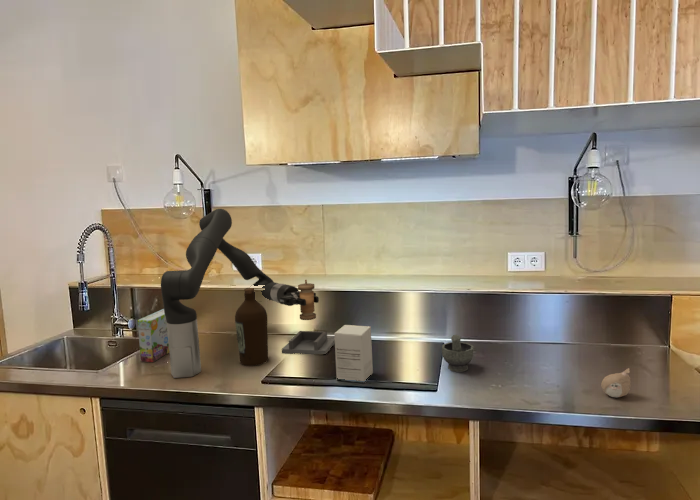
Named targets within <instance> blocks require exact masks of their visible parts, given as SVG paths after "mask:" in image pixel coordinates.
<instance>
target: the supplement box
mask: <svg viewBox="0 0 700 500" xmlns="http://www.w3.org/2000/svg"><path fill="white" fill-rule="evenodd" d="M371 327H372V326H369V325H367V326H366V325H353V324H352V325H351V324H344V325H342V327H341V328H339V329H338V330H337V331H335V332H334V337H333V338H335V344H334V350H335V351H334V354H335V372H336V373H335V374H336V379H337V378H338V379H345V380H356V381H365V380H366V379H367V378H368V377H369V376H370V375H371V376H372V375H373V374H374V370H373V369H374V368H373V349H372V345H373V344H372V328H371ZM371 376H370V377H371ZM370 377H369V378H370ZM369 378H368V379H369ZM368 379H367V380H368Z"/></svg>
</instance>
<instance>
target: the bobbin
mask: <svg viewBox="0 0 700 500" xmlns="http://www.w3.org/2000/svg"><path fill="white" fill-rule="evenodd" d="M304 282H305V283H300V284H297V289H298V290H299V291H300V298H301V299H305V300H306V305H305V306H302V305H299V307H300V308H299V309H300V314H299V320H302V321H312V320H314V319H317V313H315V309H316V308H315V302H314V293H315V292H314V289H315V284H314V283H309V282H308V280H307V279H305V280H304Z"/></svg>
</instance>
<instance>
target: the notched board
mask: <svg viewBox="0 0 700 500" xmlns="http://www.w3.org/2000/svg"><path fill="white" fill-rule="evenodd" d="M332 346H333V347H334V346H335V337H328V331H318V330H317V331H316V330H315V331H314V330H299V331H298V332H297V333H296V334H295V335H294V336H292V338H291V339H289V340H288V343H287V344H286V345H284V346H283V347H282V348H281V354H287V355H288V354H290V355H291V354H293V353H294V354H293V355H296V354H295V353H300V354H299V355H313V354H326V353H327V352H328V351H329V352H330V350H331V349H332V348H331V347H332ZM330 348H331V349H330ZM301 353H302V354H301ZM327 354H328V353H327ZM327 354H326V355H327Z"/></svg>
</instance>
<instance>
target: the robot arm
mask: <svg viewBox="0 0 700 500" xmlns="http://www.w3.org/2000/svg"><path fill="white" fill-rule="evenodd" d="M198 224H199V228H200V232H199V233H197V234H196V235H195V236H194V238H192V240H191V241H190V243H189V244H188V246H187V248H186V251H185V256H186V257H185V258H186V260H187V263H188V264H189V266H190V268H189V269H185V270H182V269H181V270H180V269H179V270H167V271H165V272H163V274H162V276H161V278H160V291H161V297H162V304H163V309H164V313H165V316H166V322H167V333H168V344H169V353H168V354H169V365H170V373H171V376H172V377H173V379H176V378H178V379H179V378H190V377H191V378H192V377H194V376H195V375H197V374H199V373H200V372H201V371H202V363H201V362H202V361H201V351H200V350H201V349H200V340H199V339H200V338H199V330H198V329H199V328H198V316H197V315H198V314H197V311H196V310H195V309H194V308H192V307H189V306H187V305H185V304H183V303H181V301H182V300H183V301H187V300H192V299H195V298H196V297H197V295H198V293H199V291H200V290H201V286H202V283H203V280H204V278H205V275H206V272H207V271H208V268H209V267H210V265H211V262H212V261H213V259H214V258H215V255H216V253H217V252H218V251H217V250H219V251H220V253H222V254H223V255H224V256H225V257H226V258H227V259H228V260H229V262H231V264H232V265H233V266H234V268H235V269H236V270H237V272H238V273H239V274H240V275H241V277H242V278H243V279H244V280H245V281H249V280H251V279H254V278H255V277H256V278H257V280H256V281H255V282H254V283H253V284H252V285H254V286H258V285H265V286H263V287H262V288H265V290H263V291H261V292H262V295H263V296H264V297H265V298H267V299H269V301H271V302H273V301H274V302H276V304H277V303H278V304H280V305H285V306H287V307H292V306H298V305H299V306H300V305H302V306H305V305H306V300H305V299H301V298H300V291H301V290H299V289H298V287H296V286H295V285H290V284H285V283H278V282H274V280H273V279H272V278H271V277H270V276H269V275H267V274H266V273H264V272H263V271H262V270H261V269H260V268H259V267H258V266H257V264H256V263H255V262H254V260H253V259H252V257H251V256H250V255H249V254H248V253H247V252H245V251H244V250H243V249H240V248H238V247H236V246H234V245H232V244H230V243H229V242H227V241H226V240H225V239H224V237H225V235H226V234H227V233H228V232H229V231H230V229H231V228H232V226H233V225H232V224H233V220H232V216H231V215H230V212H228V211H227V210H226V209H224V208H217V209H214V210H213V211H211V212H209V213H208V214H206V215H204V216H203V217H201V218H200V220H199V223H198ZM319 299H320V298H319V296H318V295H317V293H316V292H314V304H317V303H319Z"/></svg>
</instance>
